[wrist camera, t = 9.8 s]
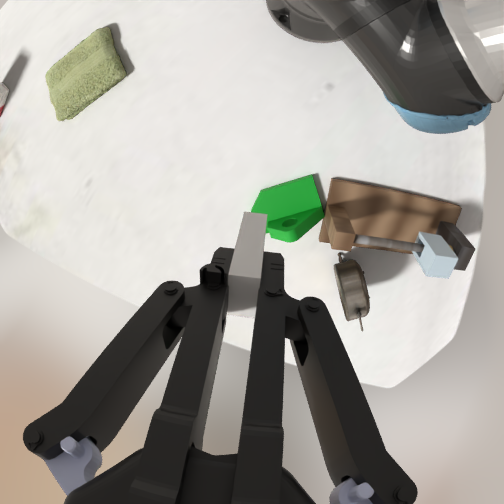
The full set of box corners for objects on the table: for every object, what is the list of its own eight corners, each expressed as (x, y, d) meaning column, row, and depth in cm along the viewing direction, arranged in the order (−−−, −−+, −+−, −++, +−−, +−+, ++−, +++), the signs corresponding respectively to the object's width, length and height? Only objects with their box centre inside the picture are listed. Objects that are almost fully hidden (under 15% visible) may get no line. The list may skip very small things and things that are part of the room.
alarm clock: (329, 250, 54) (342, 310, 40) (356, 243, 52) (377, 302, 39) (338, 291, 59) (349, 351, 46) (362, 285, 58) (378, 344, 45)
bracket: (311, 173, 46) (316, 188, 41) (323, 213, 50) (329, 232, 44) (245, 194, 50) (240, 211, 44) (261, 231, 53) (258, 251, 48)
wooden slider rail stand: (318, 238, 53) (325, 272, 44) (331, 178, 46) (343, 203, 37) (439, 255, 52) (459, 285, 43) (458, 205, 45) (485, 232, 36)
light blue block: (411, 251, 44) (426, 276, 38) (419, 231, 42) (435, 255, 36) (433, 254, 44) (448, 278, 38) (441, 235, 42) (458, 258, 36)
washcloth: (47, 74, 37) (37, 75, 34) (111, 23, 32) (101, 21, 30) (66, 124, 43) (56, 128, 41) (133, 79, 39) (124, 80, 36)
